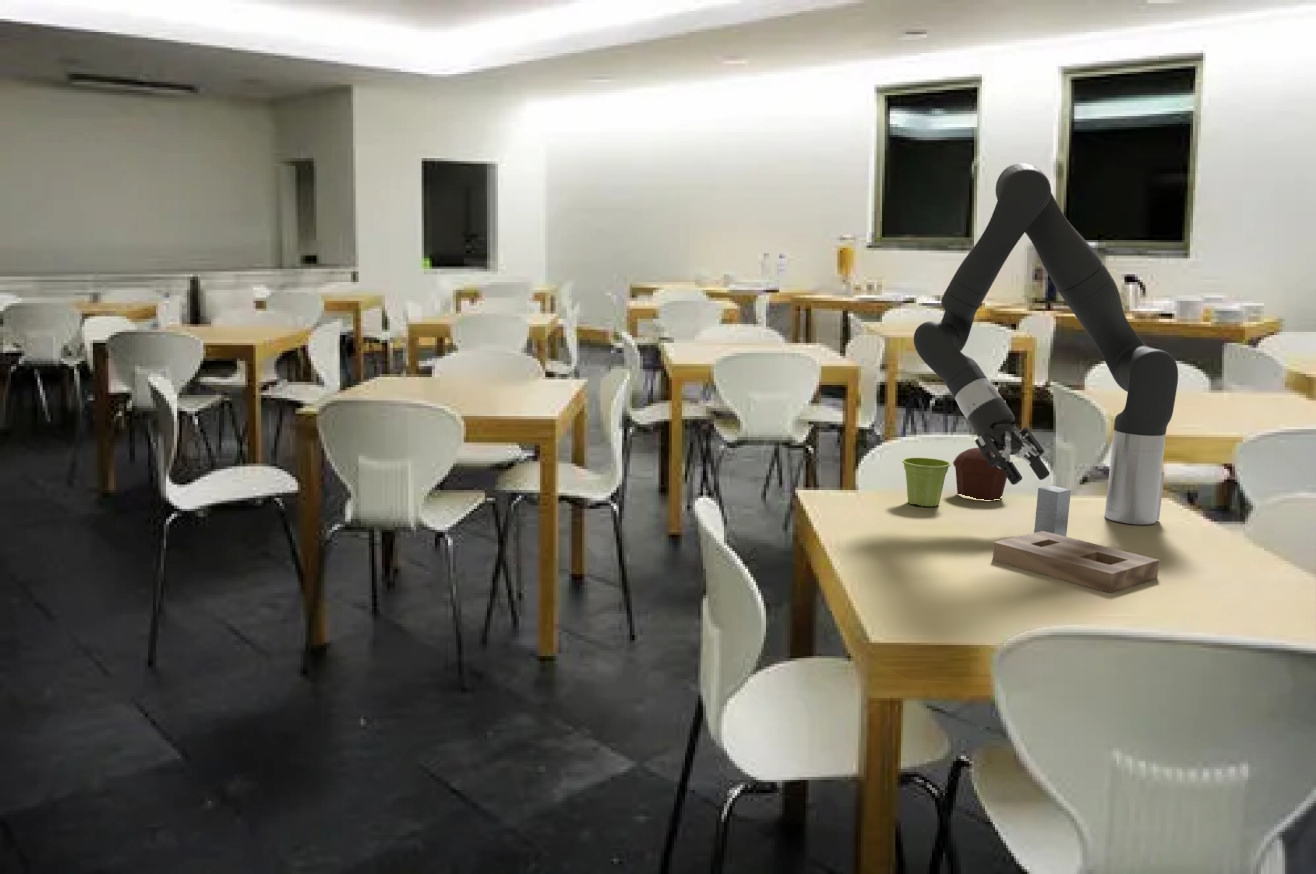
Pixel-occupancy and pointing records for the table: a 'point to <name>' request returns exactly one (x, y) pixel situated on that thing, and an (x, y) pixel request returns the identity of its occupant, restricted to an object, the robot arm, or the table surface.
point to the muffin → (978, 476)
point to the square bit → (1052, 510)
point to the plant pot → (925, 480)
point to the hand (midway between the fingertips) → (1031, 479)
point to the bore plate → (1076, 561)
